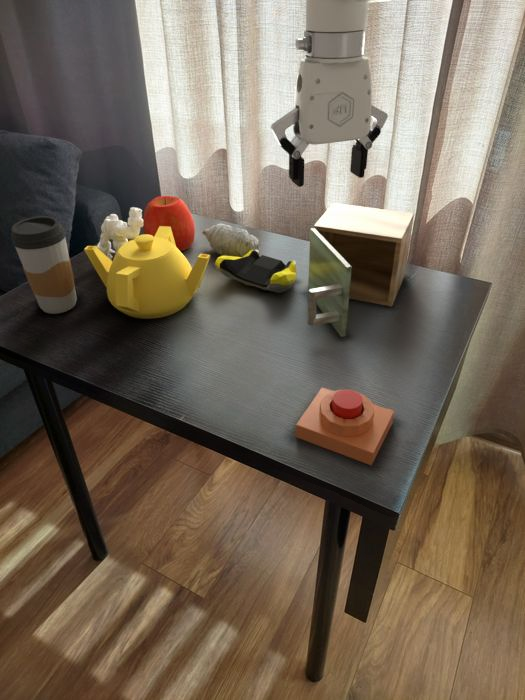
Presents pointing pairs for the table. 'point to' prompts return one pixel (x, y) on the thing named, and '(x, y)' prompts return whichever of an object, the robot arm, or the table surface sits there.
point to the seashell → (231, 240)
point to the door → (327, 284)
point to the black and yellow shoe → (259, 271)
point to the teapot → (149, 275)
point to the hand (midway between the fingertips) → (327, 179)
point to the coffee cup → (46, 262)
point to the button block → (345, 427)
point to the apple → (170, 220)
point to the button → (347, 404)
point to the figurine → (119, 231)
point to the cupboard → (369, 248)
